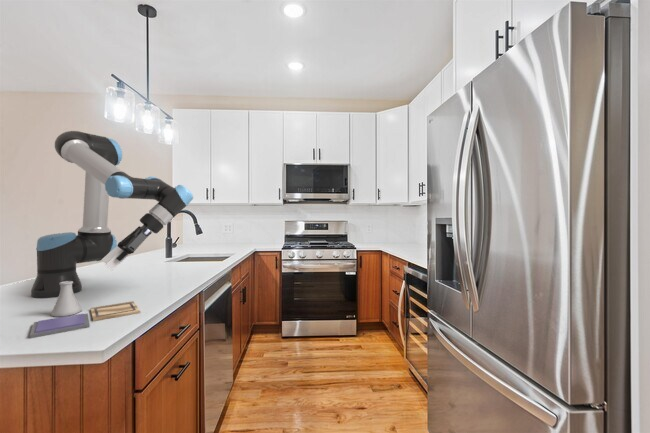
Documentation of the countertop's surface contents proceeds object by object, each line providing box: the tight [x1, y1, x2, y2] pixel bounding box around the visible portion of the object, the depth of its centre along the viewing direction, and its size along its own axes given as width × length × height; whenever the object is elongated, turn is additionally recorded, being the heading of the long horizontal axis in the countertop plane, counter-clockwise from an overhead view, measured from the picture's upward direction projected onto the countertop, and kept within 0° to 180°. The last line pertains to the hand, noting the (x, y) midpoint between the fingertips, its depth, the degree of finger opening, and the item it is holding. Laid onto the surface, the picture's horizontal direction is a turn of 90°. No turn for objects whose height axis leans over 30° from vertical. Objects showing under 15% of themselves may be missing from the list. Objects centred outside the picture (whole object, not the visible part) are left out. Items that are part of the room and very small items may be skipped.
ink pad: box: [29, 313, 91, 339], centre depth 86 cm, size 12×12×1 cm
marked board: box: [90, 300, 141, 322], centre depth 99 cm, size 14×12×1 cm
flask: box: [50, 281, 83, 318], centre depth 97 cm, size 7×7×10 cm
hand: (106, 265), depth 103 cm, fingers open, 13 cm apart
